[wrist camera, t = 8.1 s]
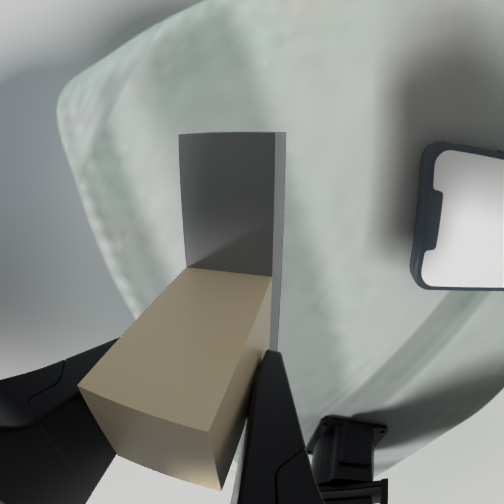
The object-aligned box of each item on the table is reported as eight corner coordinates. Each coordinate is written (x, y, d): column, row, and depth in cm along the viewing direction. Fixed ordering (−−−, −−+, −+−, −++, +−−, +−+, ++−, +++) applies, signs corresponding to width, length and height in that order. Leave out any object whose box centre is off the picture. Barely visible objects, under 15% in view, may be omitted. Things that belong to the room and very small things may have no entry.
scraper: (275, 382, 12) (231, 528, 6) (219, 373, 13) (155, 505, 7) (286, 132, 9) (176, 141, 2) (206, 132, 9) (12, 164, 3)
